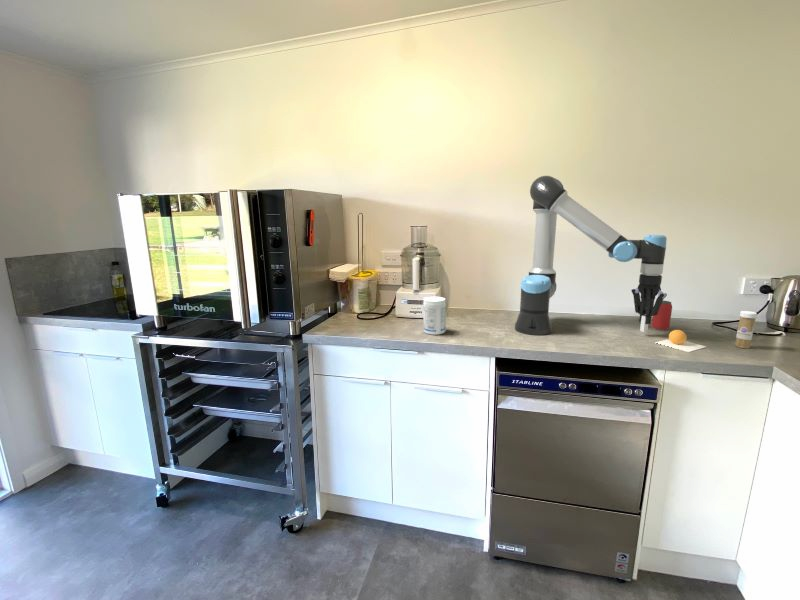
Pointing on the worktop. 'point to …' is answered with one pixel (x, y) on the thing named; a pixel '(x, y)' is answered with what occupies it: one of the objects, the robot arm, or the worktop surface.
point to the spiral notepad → (681, 345)
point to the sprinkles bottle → (745, 329)
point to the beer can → (663, 316)
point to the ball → (677, 337)
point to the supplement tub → (434, 315)
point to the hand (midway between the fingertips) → (643, 331)
